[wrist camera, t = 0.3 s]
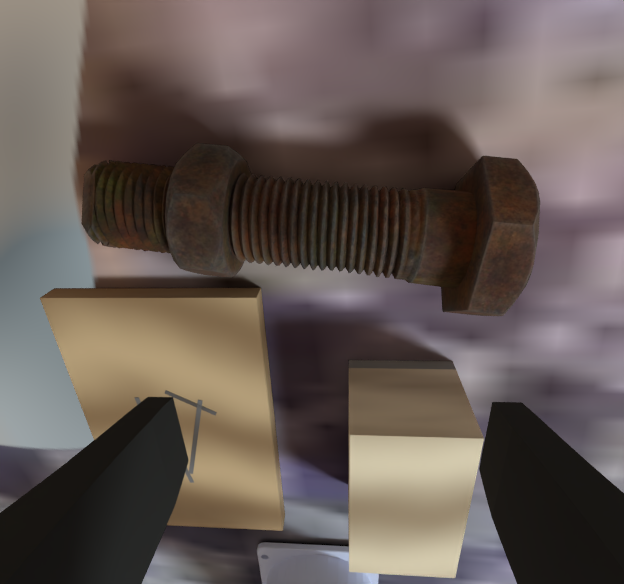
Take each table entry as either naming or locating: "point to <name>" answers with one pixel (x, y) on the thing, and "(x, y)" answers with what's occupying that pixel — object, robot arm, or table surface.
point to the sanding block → (409, 467)
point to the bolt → (325, 223)
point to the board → (183, 387)
